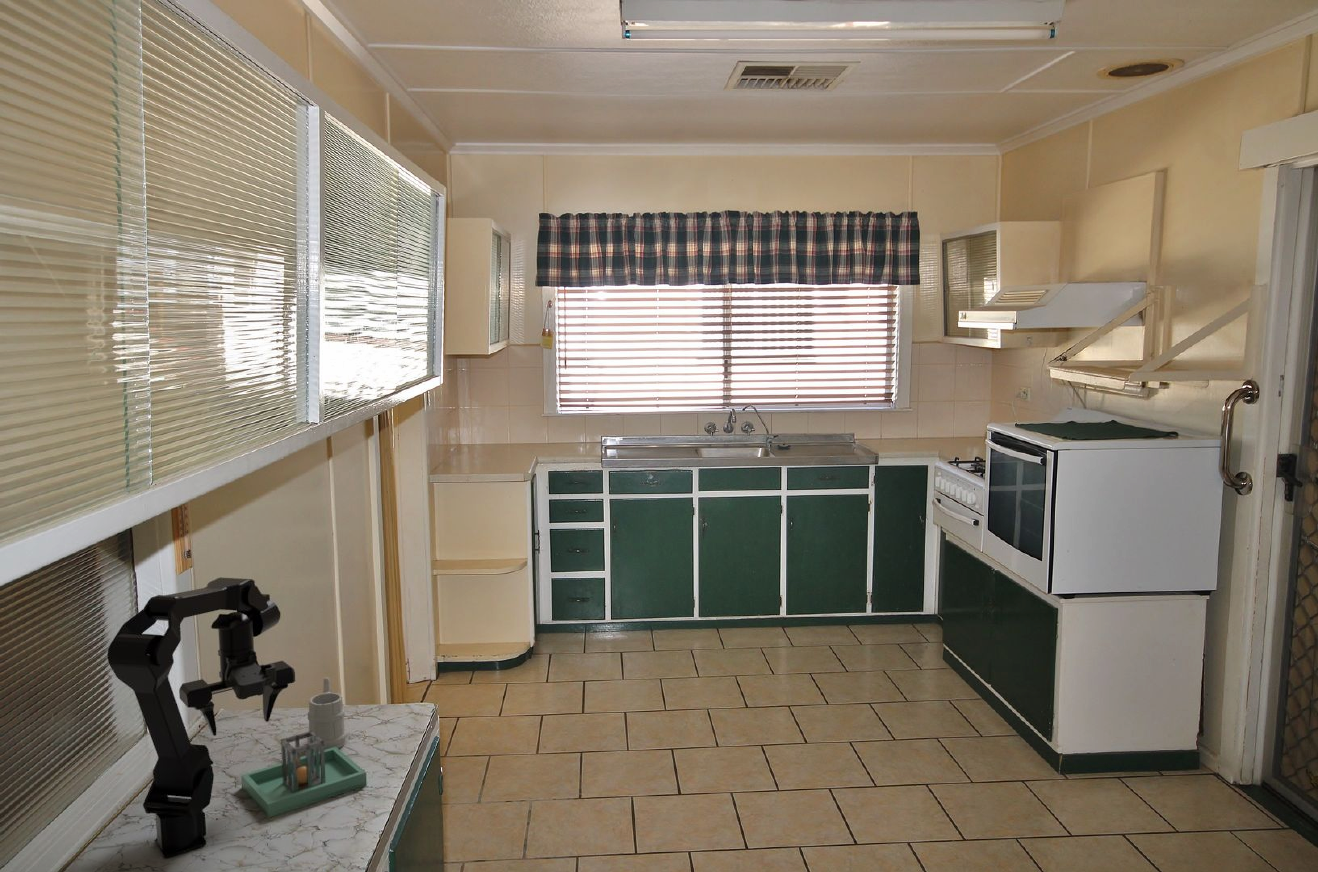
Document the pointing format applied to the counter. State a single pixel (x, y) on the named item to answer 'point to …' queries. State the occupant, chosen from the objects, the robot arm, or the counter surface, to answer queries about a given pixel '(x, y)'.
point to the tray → (279, 799)
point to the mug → (327, 717)
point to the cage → (291, 774)
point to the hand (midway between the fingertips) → (240, 728)
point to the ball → (302, 775)
